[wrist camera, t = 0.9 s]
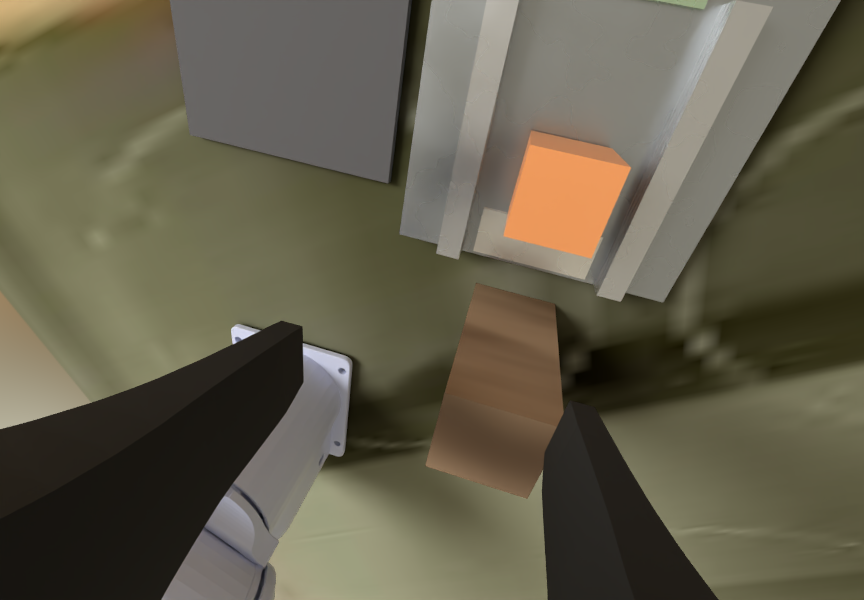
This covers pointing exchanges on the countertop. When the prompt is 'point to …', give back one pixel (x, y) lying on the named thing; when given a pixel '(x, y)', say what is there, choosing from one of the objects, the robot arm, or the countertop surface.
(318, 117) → the rubber mat
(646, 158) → the grey tray
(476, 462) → the block
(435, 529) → the countertop surface
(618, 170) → the orange cube
